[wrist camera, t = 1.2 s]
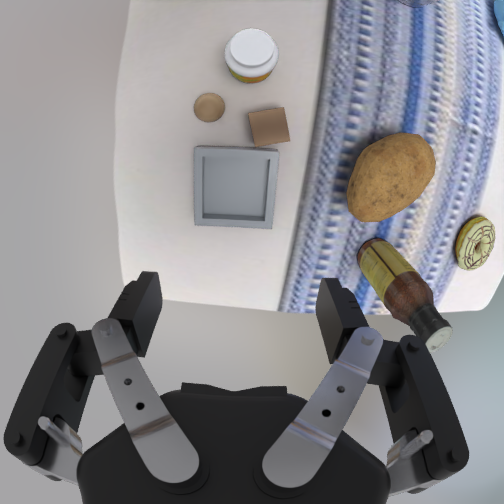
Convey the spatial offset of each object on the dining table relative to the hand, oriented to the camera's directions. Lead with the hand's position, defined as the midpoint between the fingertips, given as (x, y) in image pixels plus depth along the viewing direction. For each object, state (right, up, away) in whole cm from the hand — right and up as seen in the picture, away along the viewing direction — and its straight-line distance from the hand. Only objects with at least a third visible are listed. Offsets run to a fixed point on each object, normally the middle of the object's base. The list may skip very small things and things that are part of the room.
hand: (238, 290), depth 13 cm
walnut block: (+3, +17, +18) cm, 25 cm away
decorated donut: (+42, +4, +26) cm, 50 cm away
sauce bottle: (+20, +2, +27) cm, 34 cm away
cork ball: (-4, +19, +15) cm, 25 cm away
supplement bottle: (+1, +25, +14) cm, 29 cm away
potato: (+18, +13, +21) cm, 30 cm away
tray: (-1, +11, +22) cm, 24 cm away
